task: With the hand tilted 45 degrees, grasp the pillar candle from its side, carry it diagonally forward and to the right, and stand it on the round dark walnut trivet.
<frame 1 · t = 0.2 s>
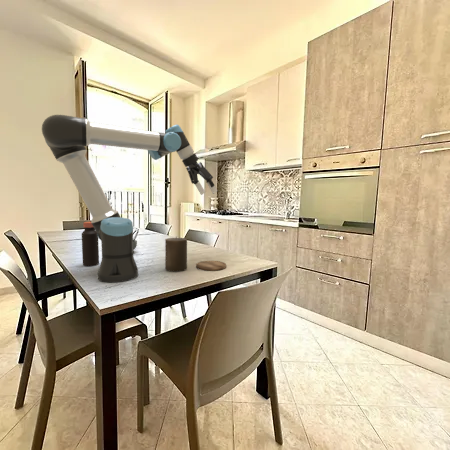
hand: (209, 193, 135), 35 cm above the table, tool tilted 35°, fingers open, 13 cm apart
bottle: (91, 265, 121), on the table
mortar and pestle: (127, 253, 147), on the table
trivet: (211, 266, 121), on the table
pillar candle: (176, 269, 117), on the table
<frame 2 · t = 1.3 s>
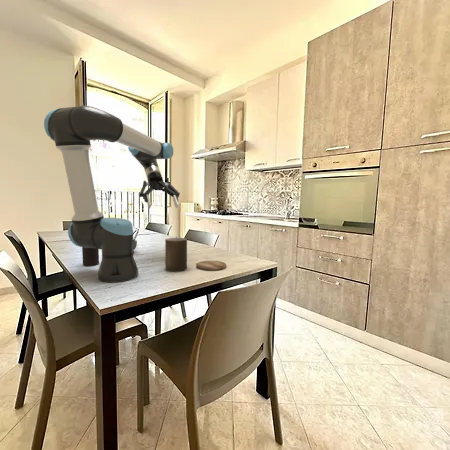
hand: (164, 206, 125), 28 cm above the table, tool tilted 45°, fingers open, 13 cm apart
nothing on the table moved.
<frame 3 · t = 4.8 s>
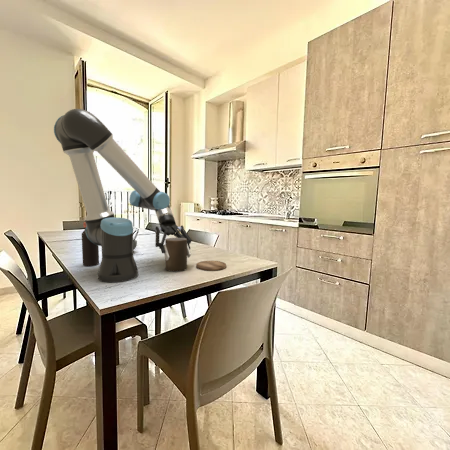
hand: (178, 257, 114), 6 cm above the table, tool tilted 45°, fingers closed on pillar candle, 10 cm apart
pillar candle: (176, 269, 117), on the table, touching gripper
everything else where it was.
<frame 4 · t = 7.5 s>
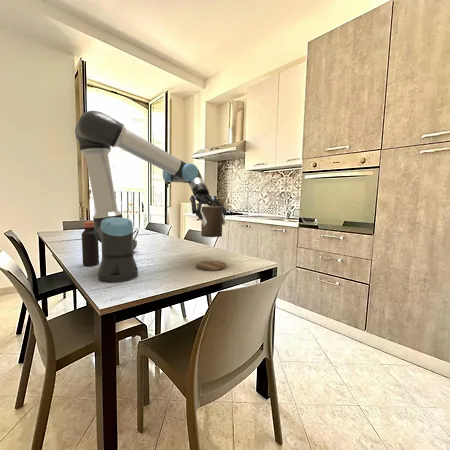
hand: (215, 223, 117), 21 cm above the table, tool tilted 45°, fingers closed on pillar candle, 10 cm apart
pillar candle: (211, 236, 120), point 14 cm above the table, touching gripper
everything else where it was.
when the fingers open (8 cm above the table, at t = 10.2 s): pillar candle drops 1 cm, resting on trivet.
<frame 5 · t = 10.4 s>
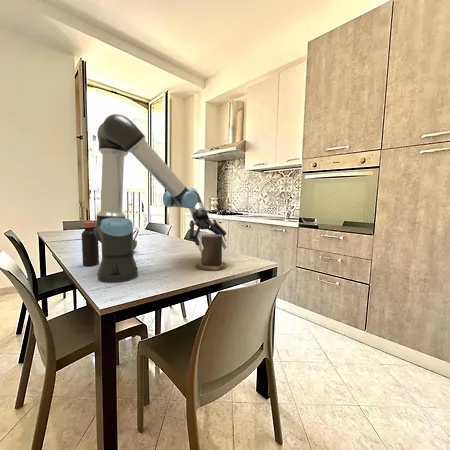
hand: (214, 249, 118), 9 cm above the table, tool tilted 45°, fingers open, 12 cm apart
pillar candle: (211, 264, 121), point 1 cm above the table, touching trivet
everything else where it was.
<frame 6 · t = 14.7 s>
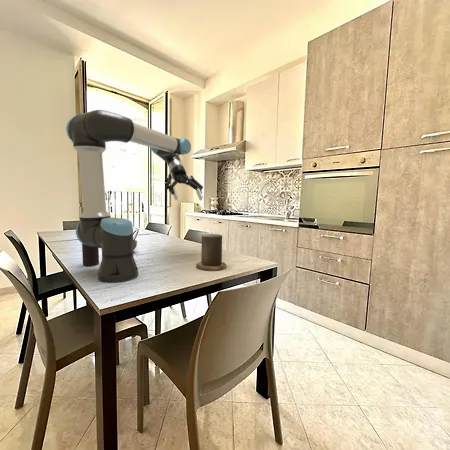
hand: (189, 198, 129), 32 cm above the table, tool tilted 45°, fingers open, 13 cm apart
nothing on the table moved.
at the end: pillar candle 0.2 cm from the trivet (horizontally); pillar candle tilted 0°; the gripper is holding nothing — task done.
